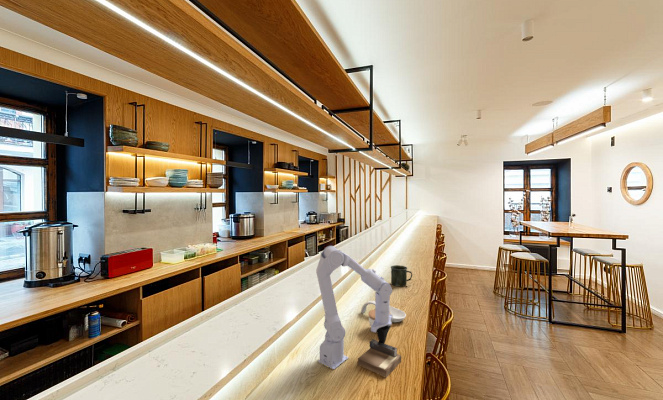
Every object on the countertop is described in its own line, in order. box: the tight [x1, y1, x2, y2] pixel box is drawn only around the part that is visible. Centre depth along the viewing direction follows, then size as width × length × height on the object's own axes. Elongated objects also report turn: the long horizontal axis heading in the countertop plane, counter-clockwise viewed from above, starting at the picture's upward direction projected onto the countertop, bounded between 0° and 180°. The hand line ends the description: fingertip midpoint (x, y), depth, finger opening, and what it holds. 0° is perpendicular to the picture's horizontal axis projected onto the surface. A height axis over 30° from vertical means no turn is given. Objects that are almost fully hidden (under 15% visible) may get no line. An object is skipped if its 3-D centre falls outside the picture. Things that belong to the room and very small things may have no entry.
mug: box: [390, 264, 413, 288], centre depth 200 cm, size 11×15×12 cm
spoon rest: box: [360, 300, 407, 323], centre depth 150 cm, size 24×12×7 cm, turn 58°
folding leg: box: [369, 338, 398, 357], centre depth 114 cm, size 11×2×2 cm, turn 51°
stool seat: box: [357, 347, 402, 378], centre depth 111 cm, size 12×12×3 cm
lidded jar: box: [367, 309, 391, 327], centre depth 137 cm, size 11×11×9 cm
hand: (382, 342), depth 118 cm, fingers closed
